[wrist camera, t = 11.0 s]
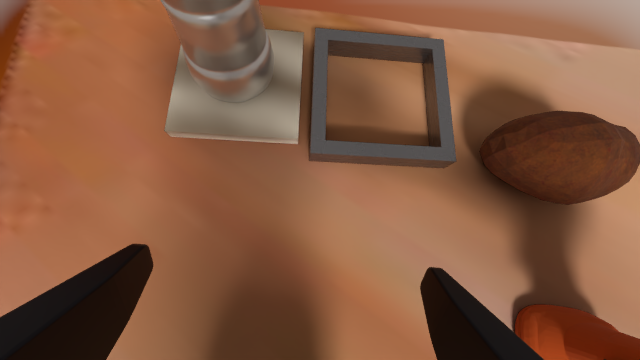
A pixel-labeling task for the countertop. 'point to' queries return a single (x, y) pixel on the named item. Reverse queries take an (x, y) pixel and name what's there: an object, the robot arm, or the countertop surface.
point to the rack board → (243, 117)
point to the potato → (562, 156)
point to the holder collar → (394, 50)
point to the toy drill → (573, 335)
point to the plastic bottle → (224, 46)
